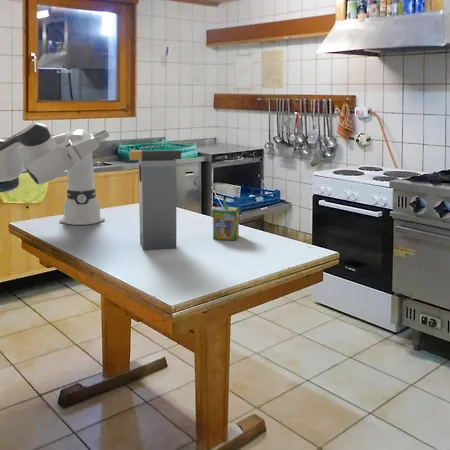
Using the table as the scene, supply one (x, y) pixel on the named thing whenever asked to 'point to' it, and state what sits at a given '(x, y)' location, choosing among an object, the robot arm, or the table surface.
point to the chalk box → (225, 222)
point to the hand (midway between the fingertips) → (107, 132)
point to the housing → (157, 204)
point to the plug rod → (154, 154)
